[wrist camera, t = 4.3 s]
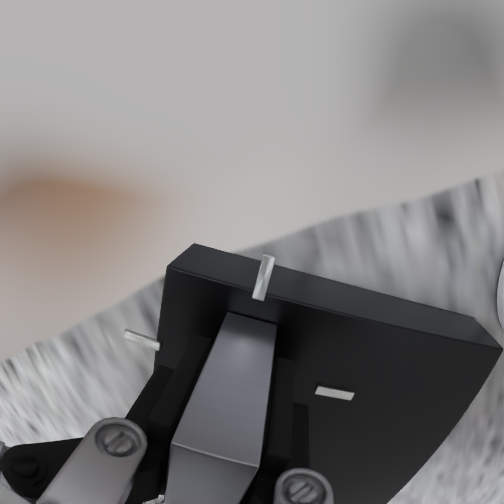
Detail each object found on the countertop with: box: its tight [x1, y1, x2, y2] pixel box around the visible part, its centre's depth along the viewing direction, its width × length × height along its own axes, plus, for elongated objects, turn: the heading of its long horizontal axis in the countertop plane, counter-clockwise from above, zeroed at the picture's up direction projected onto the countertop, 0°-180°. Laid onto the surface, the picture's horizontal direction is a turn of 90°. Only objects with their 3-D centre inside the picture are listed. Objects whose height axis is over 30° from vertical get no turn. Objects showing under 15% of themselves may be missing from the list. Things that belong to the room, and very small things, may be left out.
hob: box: [124, 243, 503, 504], centre depth 13 cm, size 15×14×3 cm
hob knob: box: [164, 312, 277, 504], centre depth 8 cm, size 4×2×6 cm, turn 166°
